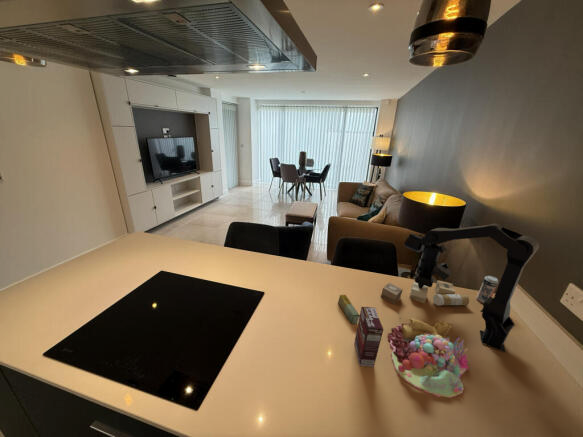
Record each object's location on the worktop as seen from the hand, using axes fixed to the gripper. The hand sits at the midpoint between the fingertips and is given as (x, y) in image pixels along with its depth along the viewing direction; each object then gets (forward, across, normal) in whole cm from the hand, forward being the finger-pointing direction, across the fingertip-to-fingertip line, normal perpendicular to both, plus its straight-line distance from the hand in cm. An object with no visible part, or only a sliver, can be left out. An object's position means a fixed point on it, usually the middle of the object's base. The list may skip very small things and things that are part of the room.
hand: (420, 287), depth 102 cm
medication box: (+5, -28, +23) cm, 36 cm away
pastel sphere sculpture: (+5, -32, -6) cm, 33 cm away
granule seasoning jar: (+3, +7, -18) cm, 19 cm away
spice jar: (+5, +15, -25) cm, 30 cm away
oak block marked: (+5, +9, -10) cm, 14 cm away
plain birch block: (+5, 0, 0) cm, 5 cm away
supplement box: (+5, -43, +12) cm, 45 cm away
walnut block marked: (+5, -8, +10) cm, 14 cm away
